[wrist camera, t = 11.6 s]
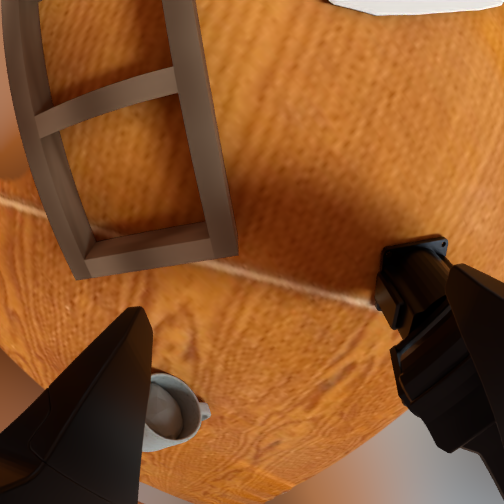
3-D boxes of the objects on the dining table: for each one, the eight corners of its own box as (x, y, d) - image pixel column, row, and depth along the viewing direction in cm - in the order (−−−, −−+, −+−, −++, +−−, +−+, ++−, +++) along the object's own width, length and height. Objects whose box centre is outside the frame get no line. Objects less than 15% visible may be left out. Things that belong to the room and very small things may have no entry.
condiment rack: (183, -71, 10) (178, -87, 8) (237, 236, 22) (238, 255, 19) (21, -4, 10) (1, -8, 8) (87, 261, 22) (76, 280, 20)
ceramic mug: (113, 389, 31) (102, 445, 25) (142, 360, 28) (130, 426, 22) (188, 419, 35) (186, 471, 29) (226, 395, 32) (228, 456, 26)
